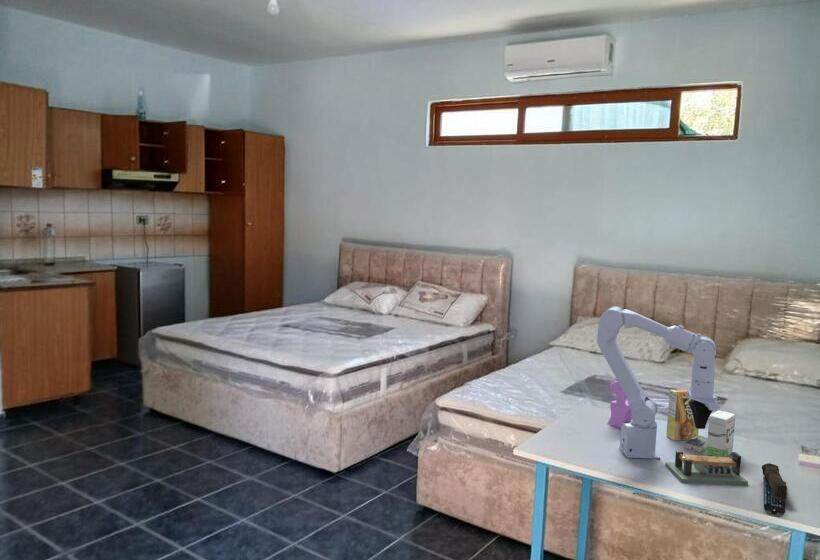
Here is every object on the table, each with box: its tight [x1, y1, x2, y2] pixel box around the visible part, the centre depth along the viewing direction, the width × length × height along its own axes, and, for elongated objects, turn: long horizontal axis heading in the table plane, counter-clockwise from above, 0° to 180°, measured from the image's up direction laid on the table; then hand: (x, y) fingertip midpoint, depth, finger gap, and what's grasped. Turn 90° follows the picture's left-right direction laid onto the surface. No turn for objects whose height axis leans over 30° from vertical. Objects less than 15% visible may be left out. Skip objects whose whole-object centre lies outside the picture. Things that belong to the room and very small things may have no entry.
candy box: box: [665, 388, 700, 441], centre depth 190 cm, size 9×4×15 cm, turn 103°
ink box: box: [706, 409, 736, 457], centre depth 178 cm, size 9×5×12 cm, turn 135°
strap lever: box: [678, 454, 736, 467], centre depth 162 cm, size 14×4×1 cm, turn 88°
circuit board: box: [664, 461, 749, 486], centre depth 162 cm, size 17×11×1 cm, turn 88°
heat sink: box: [674, 450, 742, 478], centre depth 162 cm, size 15×7×5 cm, turn 88°
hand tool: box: [761, 462, 788, 505], centre depth 154 cm, size 19×4×5 cm, turn 155°
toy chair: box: [606, 380, 632, 429], centre depth 202 cm, size 8×9×15 cm
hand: (700, 428), depth 169 cm, fingers closed
